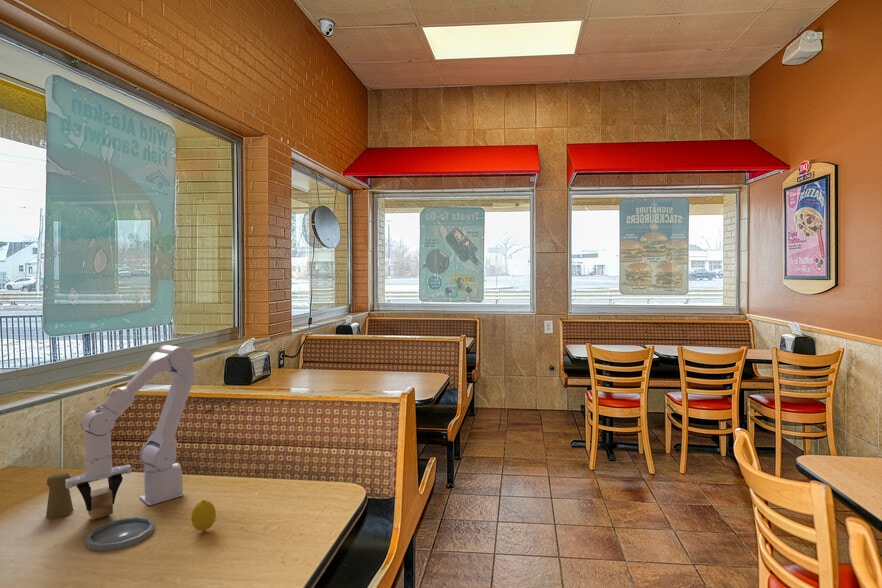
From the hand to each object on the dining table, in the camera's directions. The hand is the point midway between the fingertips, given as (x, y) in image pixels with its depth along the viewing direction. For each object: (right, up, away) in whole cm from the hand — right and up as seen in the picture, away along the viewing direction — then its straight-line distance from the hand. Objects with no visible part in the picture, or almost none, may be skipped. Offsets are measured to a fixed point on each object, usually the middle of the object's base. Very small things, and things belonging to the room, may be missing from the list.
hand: (100, 506), depth 137 cm
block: (0, -2, 0) cm, 2 cm away
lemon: (+31, -3, -8) cm, 32 cm away
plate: (+11, -3, -10) cm, 15 cm away
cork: (-13, -3, +3) cm, 13 cm away
